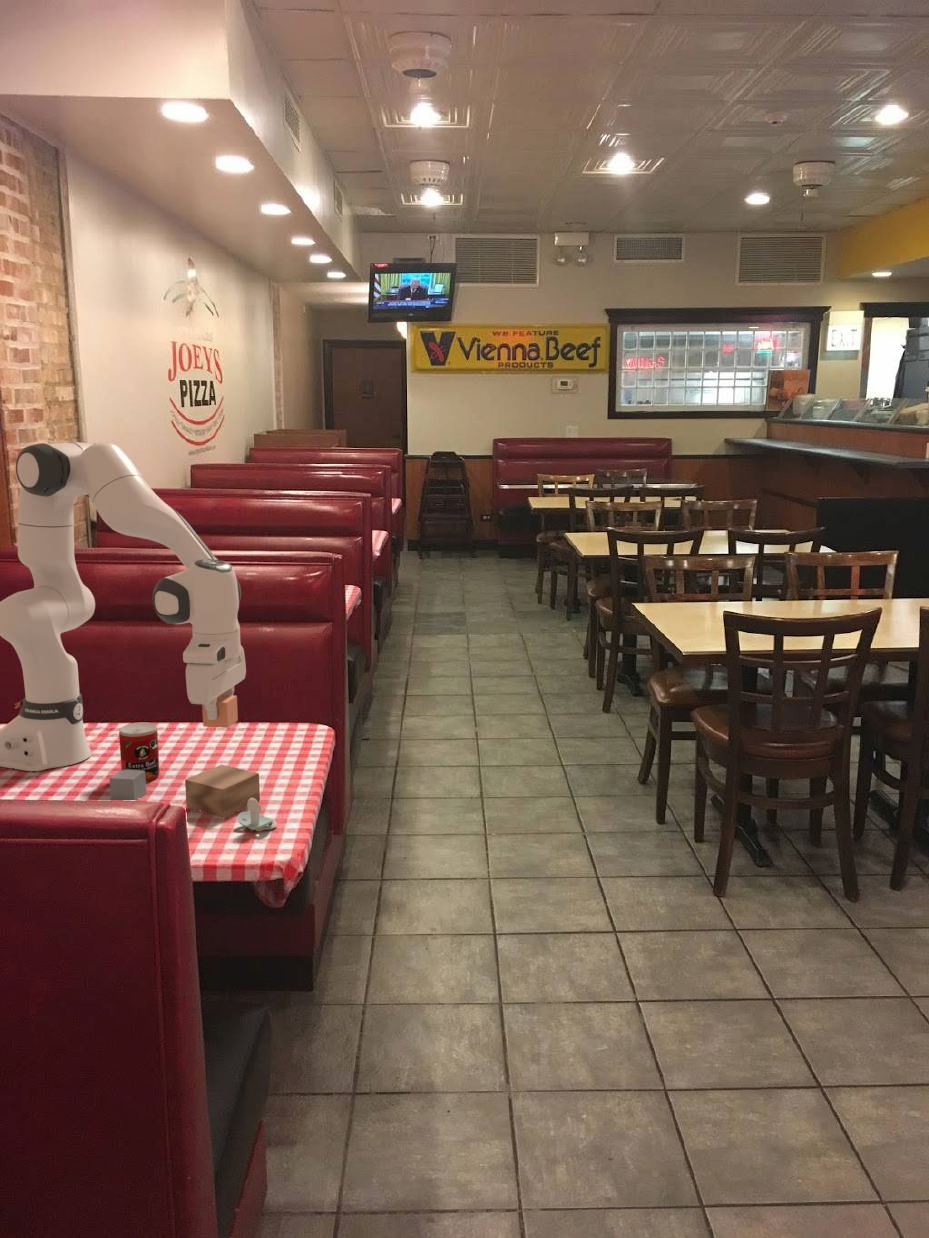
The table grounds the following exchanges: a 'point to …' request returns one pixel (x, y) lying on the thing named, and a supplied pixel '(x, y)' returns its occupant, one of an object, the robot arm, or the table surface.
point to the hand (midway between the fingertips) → (220, 713)
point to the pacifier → (255, 817)
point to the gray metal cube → (128, 785)
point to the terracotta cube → (223, 712)
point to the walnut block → (222, 790)
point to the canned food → (140, 748)
